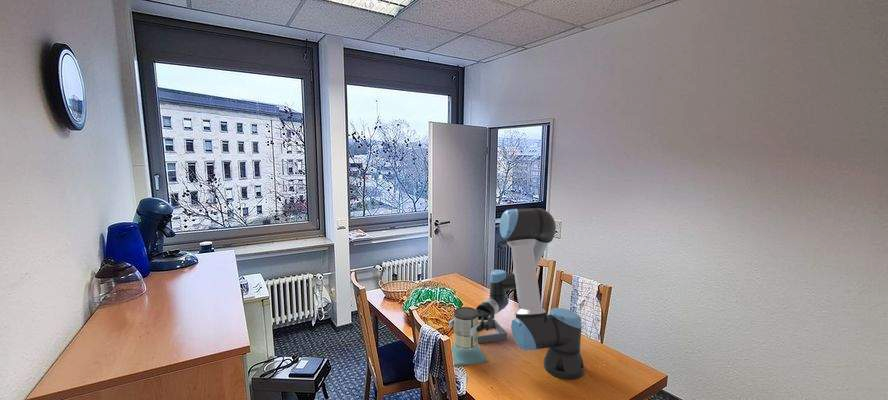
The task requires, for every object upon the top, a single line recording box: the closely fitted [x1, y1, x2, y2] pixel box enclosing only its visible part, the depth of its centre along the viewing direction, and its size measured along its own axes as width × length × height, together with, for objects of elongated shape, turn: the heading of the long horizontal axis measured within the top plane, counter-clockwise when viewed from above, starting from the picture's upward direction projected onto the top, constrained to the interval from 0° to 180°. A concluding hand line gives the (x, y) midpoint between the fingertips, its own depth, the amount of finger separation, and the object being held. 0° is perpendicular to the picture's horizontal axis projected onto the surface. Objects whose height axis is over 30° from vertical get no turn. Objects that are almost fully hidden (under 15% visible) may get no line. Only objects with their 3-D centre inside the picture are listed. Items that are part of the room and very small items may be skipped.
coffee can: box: [453, 306, 479, 350], centre depth 149 cm, size 10×10×14 cm
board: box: [452, 344, 488, 367], centre depth 150 cm, size 14×14×1 cm
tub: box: [478, 319, 508, 344], centre depth 168 cm, size 14×14×3 cm
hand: (460, 328), depth 146 cm, fingers closed on coffee can, 10 cm apart
